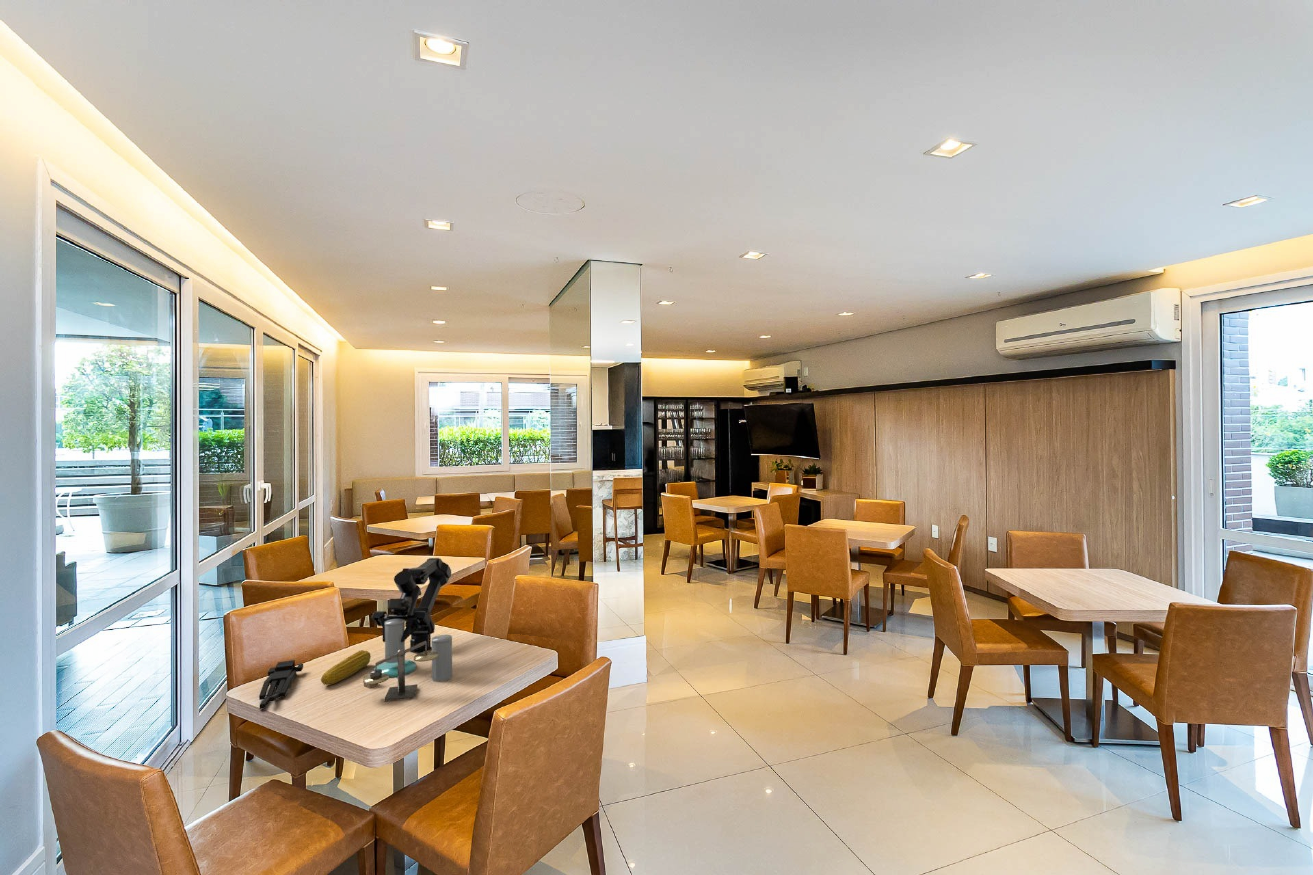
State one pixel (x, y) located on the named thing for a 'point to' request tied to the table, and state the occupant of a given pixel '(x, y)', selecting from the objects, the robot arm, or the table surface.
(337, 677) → the food
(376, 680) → the balance
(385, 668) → the dish
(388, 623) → the cup
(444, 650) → the cup
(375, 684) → the block
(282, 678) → the toy
